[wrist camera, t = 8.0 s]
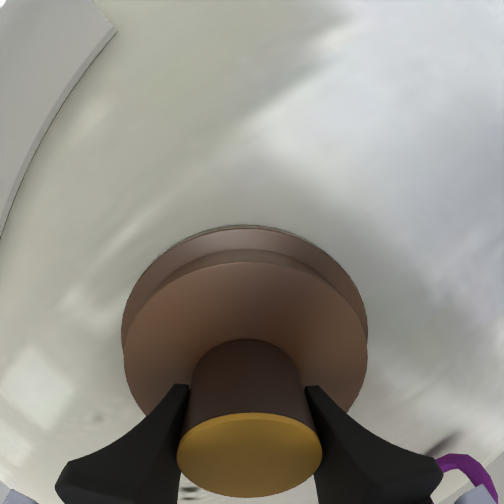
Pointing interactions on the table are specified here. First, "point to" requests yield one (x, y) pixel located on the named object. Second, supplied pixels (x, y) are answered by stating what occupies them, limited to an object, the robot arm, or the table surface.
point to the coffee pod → (247, 423)
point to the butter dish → (40, 75)
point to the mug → (468, 471)
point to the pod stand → (244, 311)
